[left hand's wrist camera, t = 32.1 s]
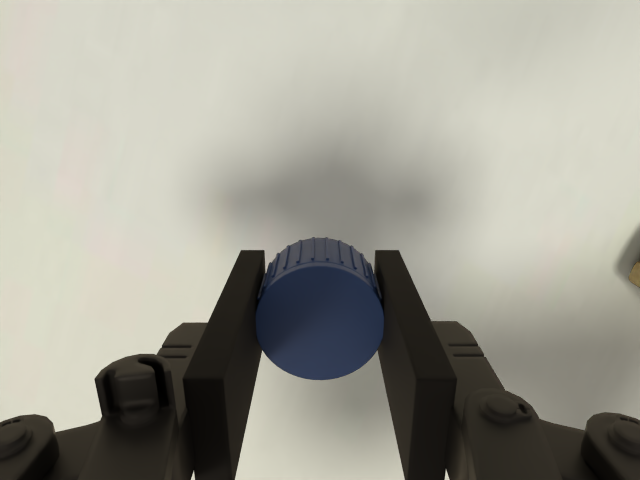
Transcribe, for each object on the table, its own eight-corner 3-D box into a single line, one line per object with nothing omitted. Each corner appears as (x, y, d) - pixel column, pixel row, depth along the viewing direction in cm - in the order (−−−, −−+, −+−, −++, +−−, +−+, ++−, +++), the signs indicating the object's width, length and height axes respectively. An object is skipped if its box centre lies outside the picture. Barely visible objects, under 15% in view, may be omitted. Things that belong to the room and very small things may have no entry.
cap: (253, 326, 15) (241, 368, 13) (274, 224, 14) (266, 251, 12) (360, 348, 15) (366, 392, 13) (391, 250, 14) (403, 280, 12)
